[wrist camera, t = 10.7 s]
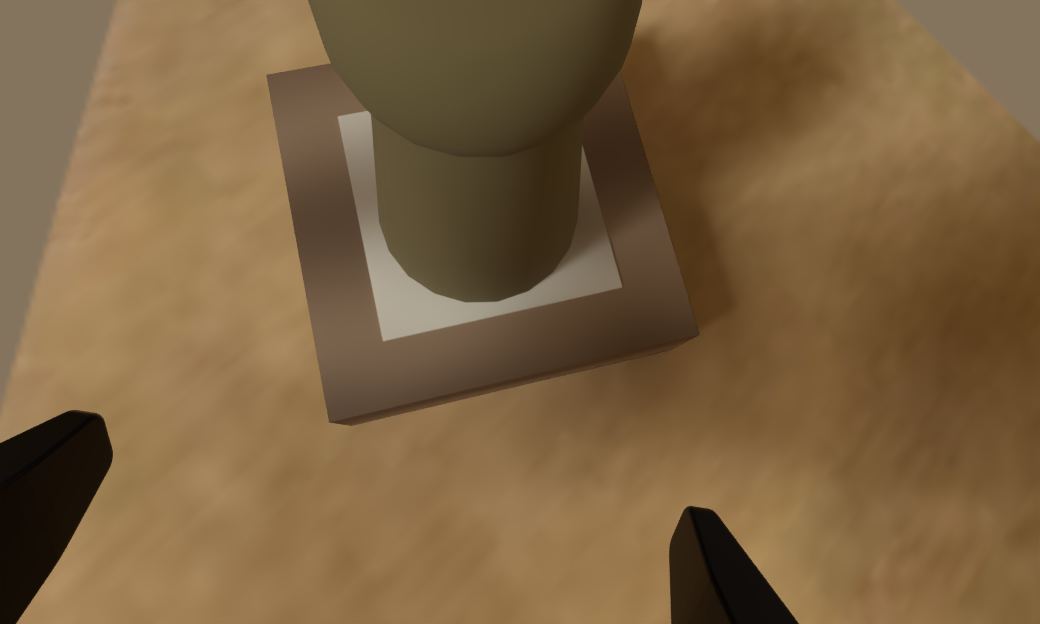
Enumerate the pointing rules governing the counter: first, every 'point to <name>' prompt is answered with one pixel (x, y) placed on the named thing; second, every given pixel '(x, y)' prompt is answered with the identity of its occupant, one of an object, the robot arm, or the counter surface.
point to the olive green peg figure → (477, 127)
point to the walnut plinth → (455, 324)
